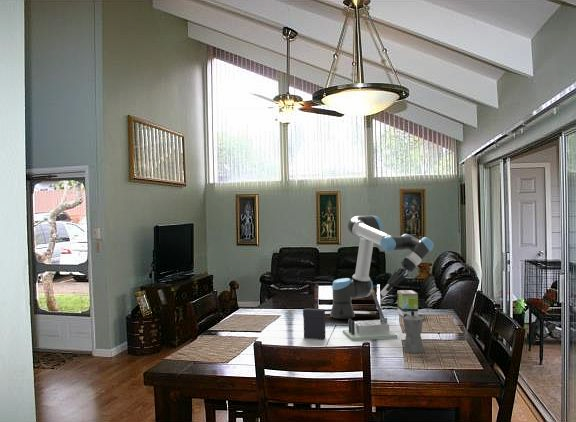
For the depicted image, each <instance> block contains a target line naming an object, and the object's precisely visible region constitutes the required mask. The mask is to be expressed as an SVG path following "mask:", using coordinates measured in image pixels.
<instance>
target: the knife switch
mask: <svg viewBox="0 0 576 422" xmlns="http://www.w3.org/2000/svg"><path fill="white" fill-rule="evenodd" d="M347 319H348V330H349V333H351V335H355V333H356V334H357V335H359V336H365V335H382V334H390V331H391V330H390V323H388V318H387V317H384V318H383V321H382V319H381V317H380V316H379V319H372V320H371V319H369V320H353V319H352V318H347Z"/></svg>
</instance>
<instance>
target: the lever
mask: <svg viewBox="0 0 576 422" xmlns="http://www.w3.org/2000/svg"><path fill="white" fill-rule="evenodd" d="M370 292H371V296H372V298H373V300H374V304H375V305H376V309H377V311H378V314H379V318H380V317H381V319H382V321H383V318H385V315H384V313H383V311H382V309H381V308H382V307H381V305H380V303H379V300H378V297H377V295H376V290H374V289H373V290H372V289H371V290H370Z"/></svg>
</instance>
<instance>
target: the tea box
mask: <svg viewBox="0 0 576 422" xmlns="http://www.w3.org/2000/svg"><path fill="white" fill-rule="evenodd" d="M396 296H397V313H398V314H399V315H400V316H401V317H402V318H403V317H404V314H407V315H410V316H411V312H412V311H413V312H414V316H419V293H418V292H416V291H415V290H412V289H411V290H410V289H409V290H407V289H405V290H404V289H403V290H401V289H400V290H398V289H397V295H396Z"/></svg>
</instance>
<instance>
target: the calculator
mask: <svg viewBox="0 0 576 422" xmlns="http://www.w3.org/2000/svg"><path fill="white" fill-rule="evenodd" d="M302 318H303V338H304V339H312V340H322V341H323V340H325V339H326V337H327V336H326V310H325V309H323V308H303V310H302Z"/></svg>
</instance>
